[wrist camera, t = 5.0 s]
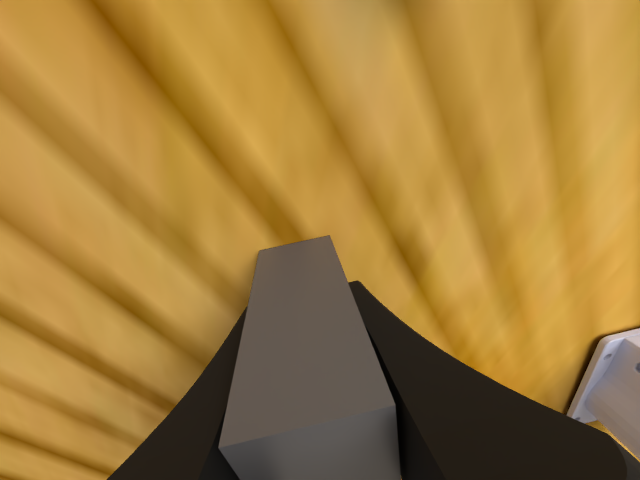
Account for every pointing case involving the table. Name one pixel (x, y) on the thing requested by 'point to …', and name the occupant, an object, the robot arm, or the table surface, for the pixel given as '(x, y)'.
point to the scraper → (307, 377)
